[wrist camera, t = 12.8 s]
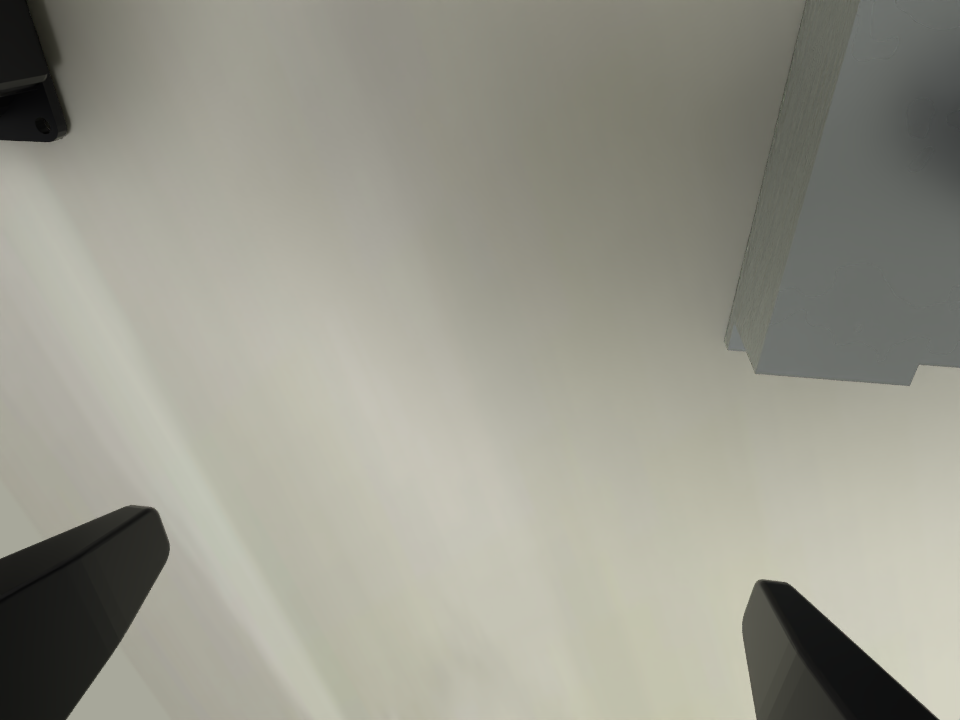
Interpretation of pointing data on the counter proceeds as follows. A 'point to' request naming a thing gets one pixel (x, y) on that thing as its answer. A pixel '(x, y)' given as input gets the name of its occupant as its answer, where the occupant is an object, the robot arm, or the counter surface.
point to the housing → (859, 200)
